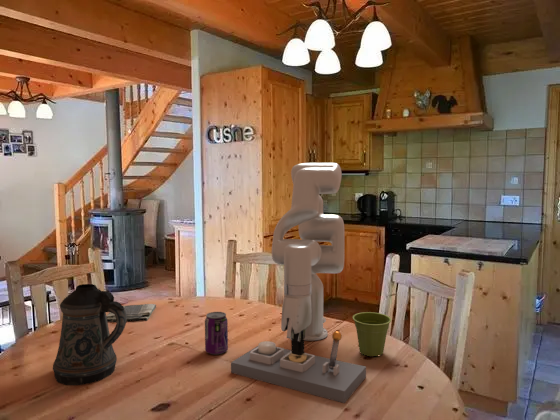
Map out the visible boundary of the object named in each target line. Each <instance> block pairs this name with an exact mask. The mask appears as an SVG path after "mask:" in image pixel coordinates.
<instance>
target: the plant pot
mask: <svg viewBox="0 0 560 420" xmlns="http://www.w3.org/2000/svg"><path fill="white" fill-rule="evenodd" d="M352 320H353V321H354V325H355V326H354V327H355V328H356V329H355V330H356V334H357V335H356V336H357V344H358V349H359V352H361V353H362V354H361V353H360V354H361V355H363V354H364V355H363V356H365V355H367V356H366V357H368V356H369V357H371V356H378V355H381V354H382V355H383V354H384V351H385V344H386V338H387V333H388V329H389V327H390V323H391V322H392V318H391V317H390V316H389V315H387V314H384V313H380V312H374V311H373V312H371V311H369V312H368V311H366V312H364V311H363V312H359V313H355V314H353V315H352ZM382 355H381V356H382ZM378 357H379V356H378Z"/></svg>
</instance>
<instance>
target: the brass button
mask: <svg viewBox="0 0 560 420" xmlns="http://www.w3.org/2000/svg"><path fill="white" fill-rule="evenodd" d="M289 361H292V362H297V363H301V364H303V363H304V362H306V361H307V355H306V354H302V355H301V356H300V355H296V354H292V353H291V354H289Z"/></svg>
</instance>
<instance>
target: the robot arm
mask: <svg viewBox="0 0 560 420" xmlns="http://www.w3.org/2000/svg"><path fill="white" fill-rule="evenodd" d="M290 175H291V181H292V184H293V186H292V195H291V196H292V197H291V206H290V209H289V210H287V212H286V213H285V214H283V216H281V218H280V219H279V220H278V222H277V224H276V226H275V228H274V230H273V235H272V243H271V244H272V245H271V258H272V260H273V262H274V263H275V264H277V265H280V266H282V265H283V288H284V289H283V300H282V306H281V307H282V308H281V319H280V320H281V326H280V328H281V331H282V332H286V339H290V341H291V350H292V354H296V355H300V356H301V355H302V354H304V353H305V341H309V342H310V341H311V342H312V341H320V340H324V339H325V338H327V337H328V334H329V333H328V330H327V329H326V328H325V327H324V323H326V322H327V319H326V318H325V316H324V284H323V282H322V280H321V279H320V277H319V275H318V274H340V273H341V272H342V271H343V270H344V267H345V223H344V220H343V219H344V218H343V217H341V216H340V214H339V215H338V214H332V213H331V214H330V213H329V214H324V200H323V198H322V196H321V195H334V194H336V193H338V192H339V189H340V187H341V182H342V167H341V166H340V164H339V163H337V162H302V163H301V162H300V163H297V164H295V165H293V166H292V168H291V170H290ZM296 226H297V227H298V235H299V238H300V239H299V238H293V239H292V238H284V237H285V235H286V234H287V232H289V230H291V229H293V228H294V227H296ZM319 242H326V243H331V245H330V244H329V245H328V244H327V245H324V244H323V245H322V244H320V243H319Z"/></svg>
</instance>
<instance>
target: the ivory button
mask: <svg viewBox="0 0 560 420" xmlns="http://www.w3.org/2000/svg"><path fill="white" fill-rule="evenodd" d="M257 346H258V352H259V353H260V354H264V355H270V354H273V353H275V352H276V347H277V344H276V343H275V342H273V341H268V340H267V341H266V340H265V341H261V342H259V343H258V345H257Z"/></svg>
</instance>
